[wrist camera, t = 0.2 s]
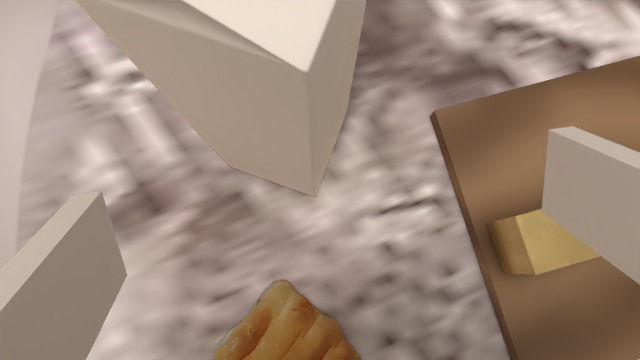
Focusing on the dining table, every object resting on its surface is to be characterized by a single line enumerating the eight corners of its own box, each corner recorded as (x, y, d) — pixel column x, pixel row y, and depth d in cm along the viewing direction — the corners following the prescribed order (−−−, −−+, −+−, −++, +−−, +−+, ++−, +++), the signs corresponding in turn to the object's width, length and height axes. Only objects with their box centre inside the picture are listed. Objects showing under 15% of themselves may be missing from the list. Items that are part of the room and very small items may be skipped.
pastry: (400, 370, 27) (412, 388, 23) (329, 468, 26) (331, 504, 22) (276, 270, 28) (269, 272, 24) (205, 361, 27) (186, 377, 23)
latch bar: (687, 154, 28) (749, 136, 24) (718, 224, 27) (786, 217, 23) (482, 212, 27) (510, 203, 23) (507, 285, 26) (540, 288, 22)
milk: (346, 112, 30) (432, -306, 8) (314, 199, 29) (313, -10, 7) (259, 82, 30) (112, -400, 8) (224, 166, 29) (-50, -131, 7)
